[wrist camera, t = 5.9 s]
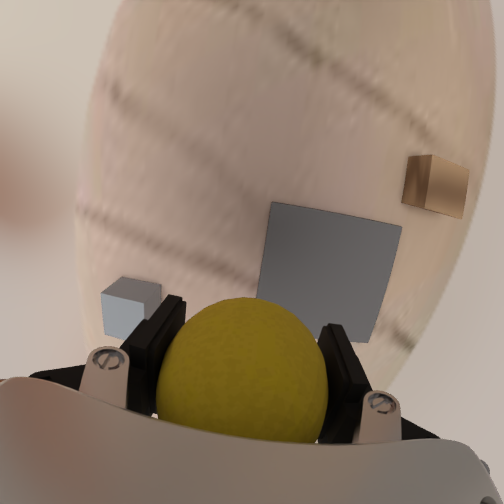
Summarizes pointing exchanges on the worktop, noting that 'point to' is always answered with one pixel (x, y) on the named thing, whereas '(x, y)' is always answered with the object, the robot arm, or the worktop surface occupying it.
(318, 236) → the mat
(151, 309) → the slate block
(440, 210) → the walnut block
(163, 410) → the lemon
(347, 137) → the worktop surface
